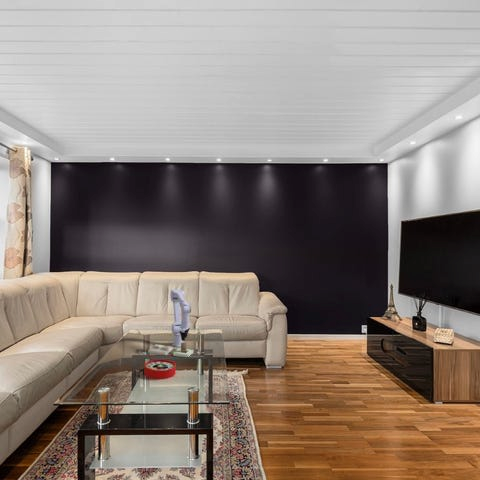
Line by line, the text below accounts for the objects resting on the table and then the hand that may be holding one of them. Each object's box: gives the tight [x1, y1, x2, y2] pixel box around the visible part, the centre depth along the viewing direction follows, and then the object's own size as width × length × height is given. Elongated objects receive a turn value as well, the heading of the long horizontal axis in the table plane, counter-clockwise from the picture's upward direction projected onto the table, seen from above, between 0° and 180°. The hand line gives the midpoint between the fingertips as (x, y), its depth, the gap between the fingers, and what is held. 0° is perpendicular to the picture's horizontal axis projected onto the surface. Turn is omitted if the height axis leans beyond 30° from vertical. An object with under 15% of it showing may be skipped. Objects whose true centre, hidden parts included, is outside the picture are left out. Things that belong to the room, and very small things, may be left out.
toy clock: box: [143, 359, 177, 380], centre depth 271 cm, size 20×6×20 cm
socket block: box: [147, 344, 174, 356], centre depth 314 cm, size 14×14×2 cm
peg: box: [180, 342, 187, 353], centre depth 310 cm, size 4×4×8 cm
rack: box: [172, 347, 195, 358], centre depth 310 cm, size 12×12×2 cm
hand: (184, 339), depth 316 cm, fingers open, 7 cm apart
